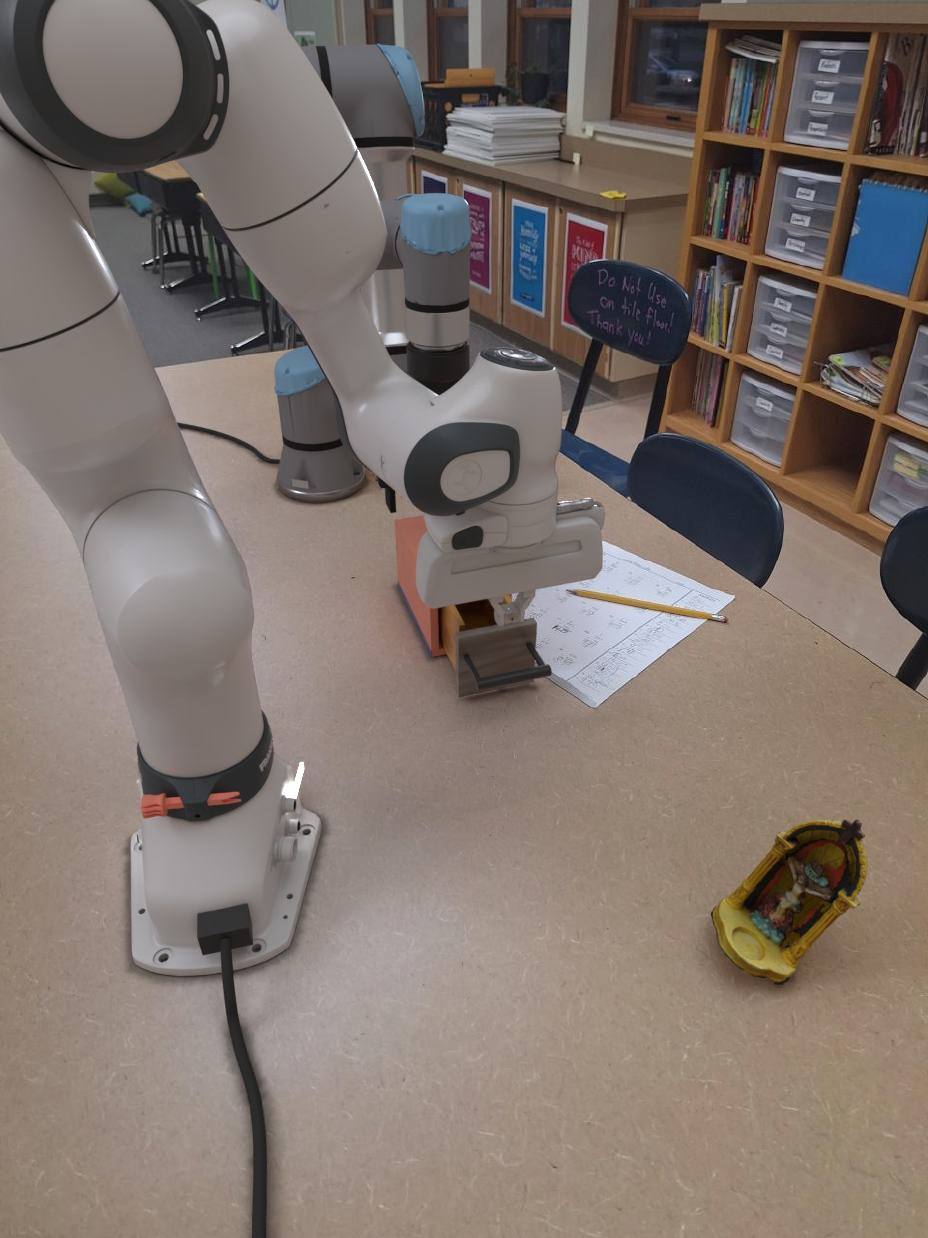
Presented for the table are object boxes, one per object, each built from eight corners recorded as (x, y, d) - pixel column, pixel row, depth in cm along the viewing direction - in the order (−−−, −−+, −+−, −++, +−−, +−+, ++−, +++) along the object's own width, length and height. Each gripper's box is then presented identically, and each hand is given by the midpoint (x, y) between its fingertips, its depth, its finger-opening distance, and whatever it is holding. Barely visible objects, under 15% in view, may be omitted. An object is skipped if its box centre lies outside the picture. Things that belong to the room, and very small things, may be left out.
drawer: (552, 712, 101) (557, 652, 96) (474, 730, 99) (474, 669, 93) (490, 610, 118) (491, 554, 113) (422, 623, 116) (420, 566, 110)
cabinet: (510, 641, 114) (513, 571, 108) (431, 657, 111) (429, 586, 105) (469, 573, 128) (469, 508, 121) (397, 586, 125) (394, 519, 118)
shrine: (791, 892, 81) (830, 781, 73) (851, 966, 75) (901, 853, 66) (686, 929, 78) (714, 817, 69) (739, 1009, 72) (776, 896, 63)
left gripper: (593, 482, 92) (583, 589, 100) (408, 511, 87) (413, 622, 95) (619, 509, 87) (607, 619, 95) (425, 541, 82) (429, 655, 90)
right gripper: (524, 321, 108) (518, 474, 120) (327, 341, 101) (342, 501, 114) (547, 339, 102) (538, 499, 114) (340, 362, 96) (354, 528, 108)
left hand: (509, 621), depth 95 cm, fingers closed
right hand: (440, 500), depth 114 cm, fingers open, 13 cm apart
